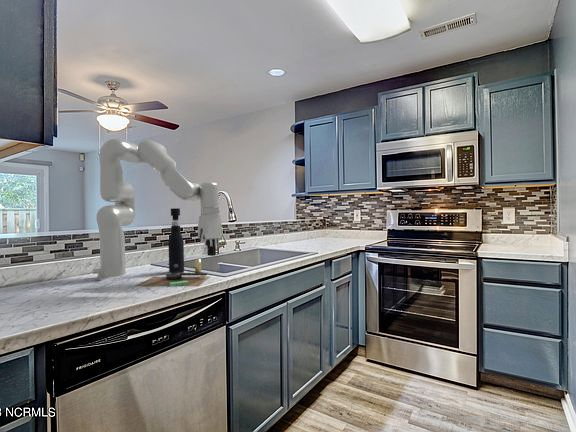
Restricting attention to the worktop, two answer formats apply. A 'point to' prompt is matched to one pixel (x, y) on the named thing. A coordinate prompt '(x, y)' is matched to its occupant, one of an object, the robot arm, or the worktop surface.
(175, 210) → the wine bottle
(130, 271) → the worktop surface
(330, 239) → the worktop surface
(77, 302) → the worktop surface
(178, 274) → the tuning dial
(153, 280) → the board
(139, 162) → the robot arm
